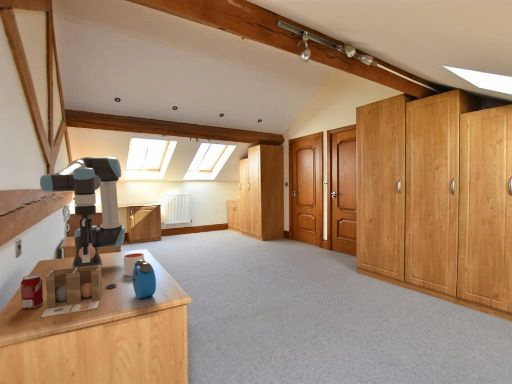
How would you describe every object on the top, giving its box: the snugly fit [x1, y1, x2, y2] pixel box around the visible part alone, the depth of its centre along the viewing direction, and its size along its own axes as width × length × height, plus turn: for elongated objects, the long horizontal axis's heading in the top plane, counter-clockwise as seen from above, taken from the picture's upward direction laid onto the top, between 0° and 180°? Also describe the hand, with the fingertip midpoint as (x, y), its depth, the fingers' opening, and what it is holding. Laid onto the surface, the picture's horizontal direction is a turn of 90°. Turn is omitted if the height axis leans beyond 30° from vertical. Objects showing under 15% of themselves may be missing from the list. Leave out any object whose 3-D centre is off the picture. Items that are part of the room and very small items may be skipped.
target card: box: [40, 301, 100, 318], centre depth 110 cm, size 7×18×1 cm, turn 113°
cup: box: [123, 252, 145, 277], centre depth 153 cm, size 10×10×10 cm
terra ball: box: [79, 245, 95, 259], centre depth 120 cm, size 6×6×6 cm
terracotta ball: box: [80, 283, 92, 298], centre depth 120 cm, size 6×6×6 cm
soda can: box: [20, 273, 44, 309], centre depth 114 cm, size 7×7×12 cm
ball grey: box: [55, 286, 67, 302], centre depth 117 cm, size 6×6×6 cm
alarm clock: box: [132, 259, 157, 299], centre depth 121 cm, size 13×6×15 cm, turn 38°
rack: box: [45, 264, 103, 309], centre depth 118 cm, size 9×18×13 cm, turn 113°
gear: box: [105, 283, 117, 290], centre depth 133 cm, size 4×4×1 cm
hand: (87, 260), depth 120 cm, fingers closed on terra ball, 6 cm apart
